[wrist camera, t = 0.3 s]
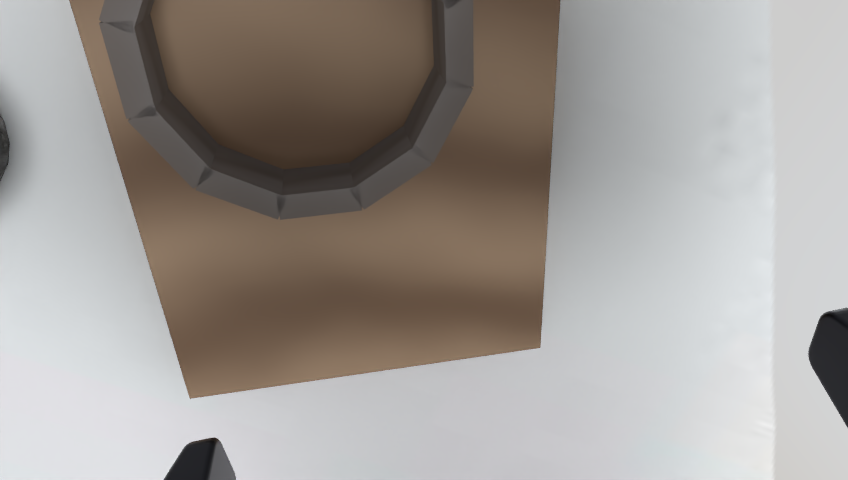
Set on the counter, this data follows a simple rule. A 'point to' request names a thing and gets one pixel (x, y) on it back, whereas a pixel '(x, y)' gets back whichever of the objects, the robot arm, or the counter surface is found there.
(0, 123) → the salt shaker
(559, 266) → the counter surface
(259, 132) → the board
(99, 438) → the counter surface
